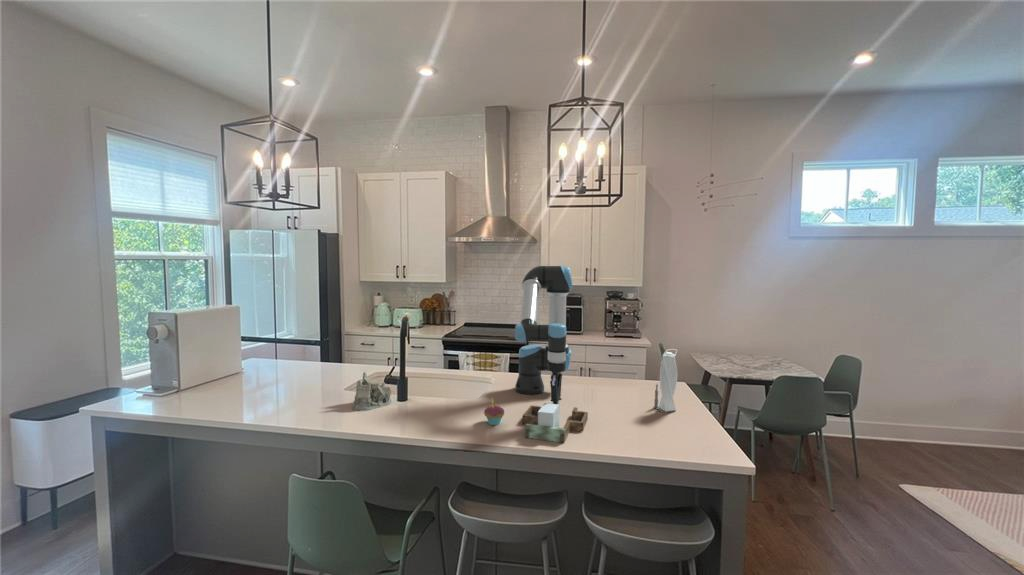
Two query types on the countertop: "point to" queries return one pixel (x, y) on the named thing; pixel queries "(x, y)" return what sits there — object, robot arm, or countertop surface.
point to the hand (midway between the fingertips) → (555, 415)
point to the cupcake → (494, 414)
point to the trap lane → (552, 432)
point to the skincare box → (549, 415)
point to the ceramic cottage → (370, 395)
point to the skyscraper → (667, 382)
